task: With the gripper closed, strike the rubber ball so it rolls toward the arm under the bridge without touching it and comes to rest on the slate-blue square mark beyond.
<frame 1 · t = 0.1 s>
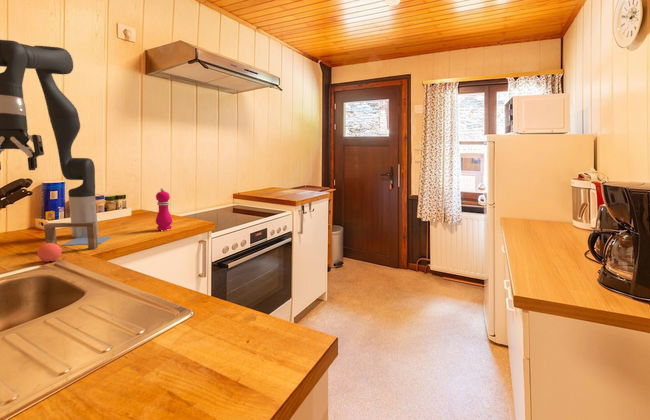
hand: (14, 170, 100), 29 cm above the worktop, tool pointing down, fingers open, 8 cm apart
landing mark: (88, 240, 138), on the worktop
ball: (49, 252, 109), on the worktop
pepper mill: (164, 230, 162), on the worktop
bridge: (72, 249, 124), on the worktop
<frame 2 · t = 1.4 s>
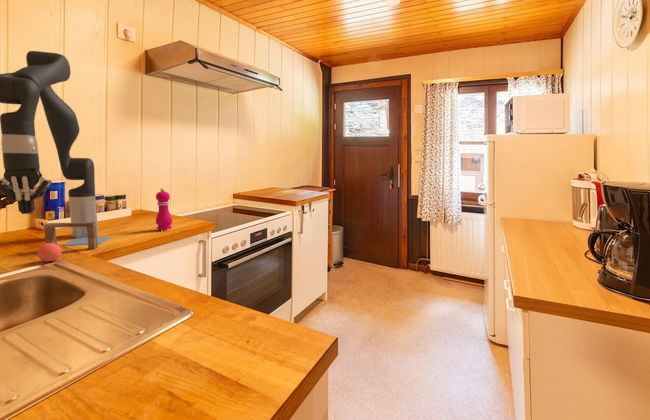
hand: (27, 213, 97), 17 cm above the worktop, tool pointing down, fingers closed
nothing on the worktop moved.
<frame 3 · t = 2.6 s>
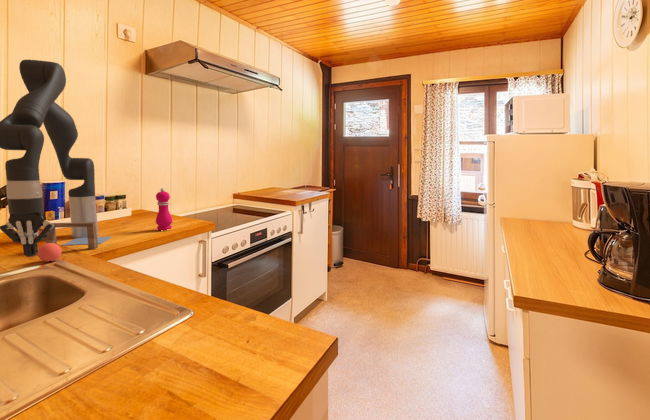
hand: (31, 256, 99), 5 cm above the worktop, tool pointing down, fingers closed
nothing on the worktop moved.
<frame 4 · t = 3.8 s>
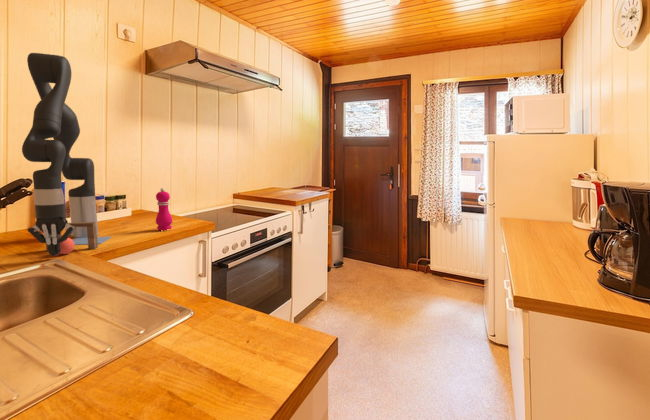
hand: (54, 255, 112), 1 cm above the worktop, tool pointing down, fingers closed
ball: (63, 245, 117), on the worktop
everything else where it was.
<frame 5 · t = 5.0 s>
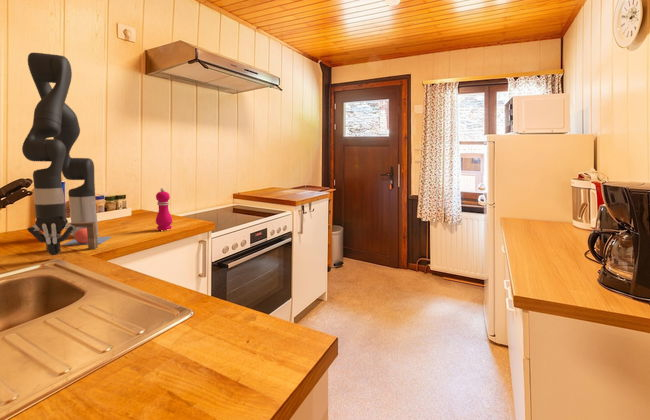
hand: (54, 254, 112), 2 cm above the worktop, tool pointing down, fingers closed
ball: (84, 235, 133), on the worktop
everything else where it was.
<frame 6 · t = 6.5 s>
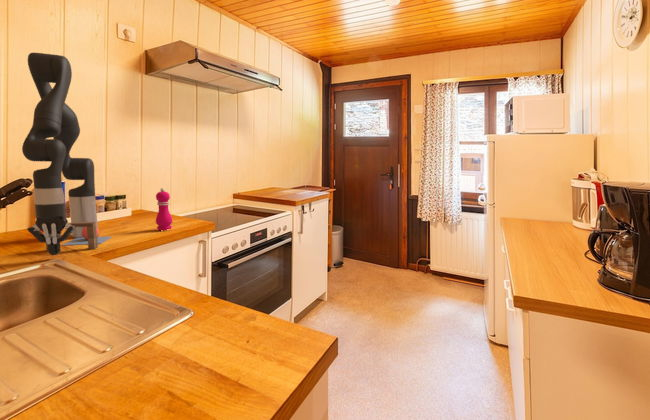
hand: (54, 254, 112), 2 cm above the worktop, tool pointing down, fingers closed
ball: (90, 232, 139), on the worktop
everything else where it was.
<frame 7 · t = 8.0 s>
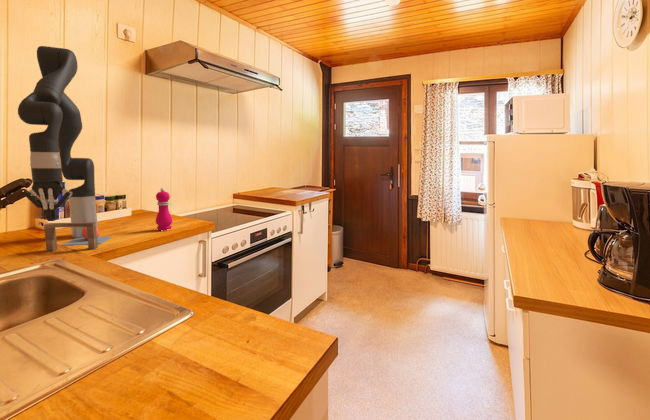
hand: (51, 220, 110), 13 cm above the worktop, tool pointing down, fingers closed
nothing on the worktop moved.
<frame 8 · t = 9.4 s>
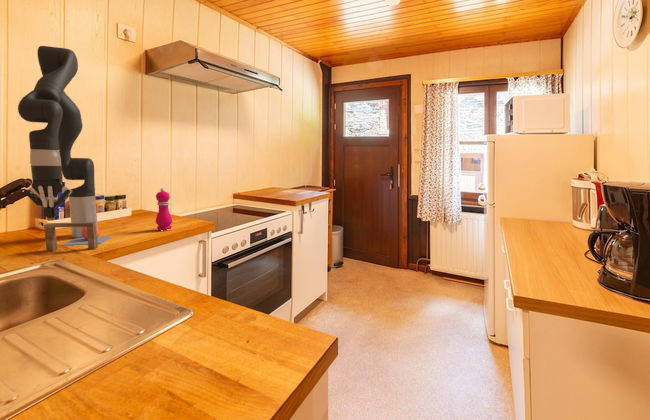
hand: (51, 218, 110), 14 cm above the worktop, tool pointing down, fingers closed
nothing on the worktop moved.
at the end: ball 1.8 cm from the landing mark (horizontally); ball never touched bridge; ball at rest at the end (0.0 cm/s) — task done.
